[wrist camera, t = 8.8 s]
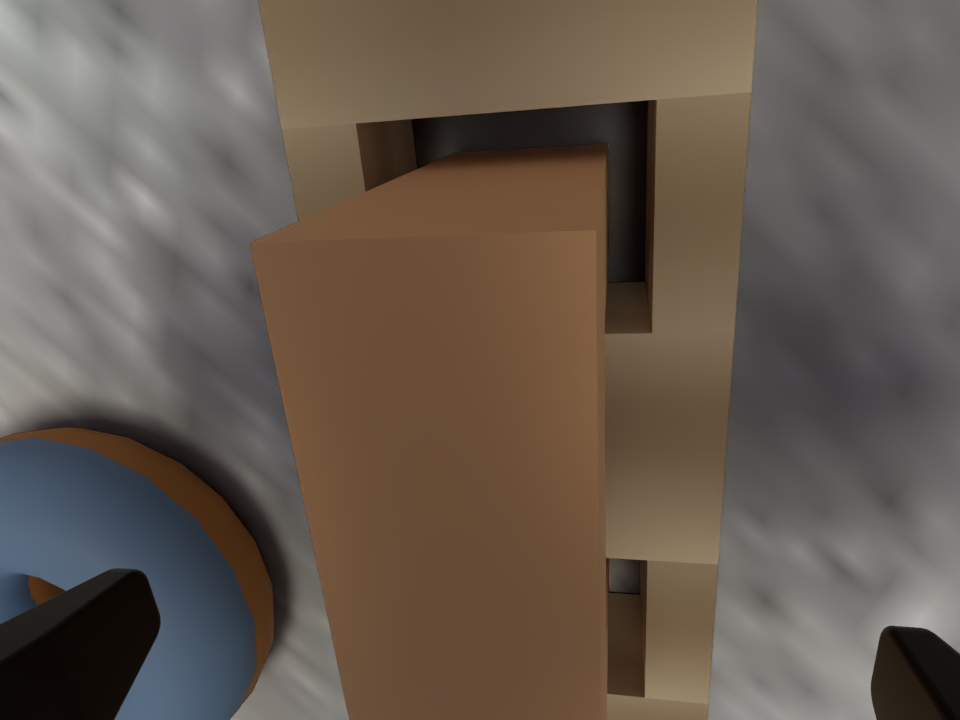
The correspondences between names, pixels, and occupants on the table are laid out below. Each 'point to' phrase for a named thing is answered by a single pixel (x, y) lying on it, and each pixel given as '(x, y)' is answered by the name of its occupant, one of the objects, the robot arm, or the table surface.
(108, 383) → the table surface
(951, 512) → the table surface
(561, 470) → the tan wooden block
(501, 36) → the rail
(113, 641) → the robot arm
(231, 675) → the doughnut
